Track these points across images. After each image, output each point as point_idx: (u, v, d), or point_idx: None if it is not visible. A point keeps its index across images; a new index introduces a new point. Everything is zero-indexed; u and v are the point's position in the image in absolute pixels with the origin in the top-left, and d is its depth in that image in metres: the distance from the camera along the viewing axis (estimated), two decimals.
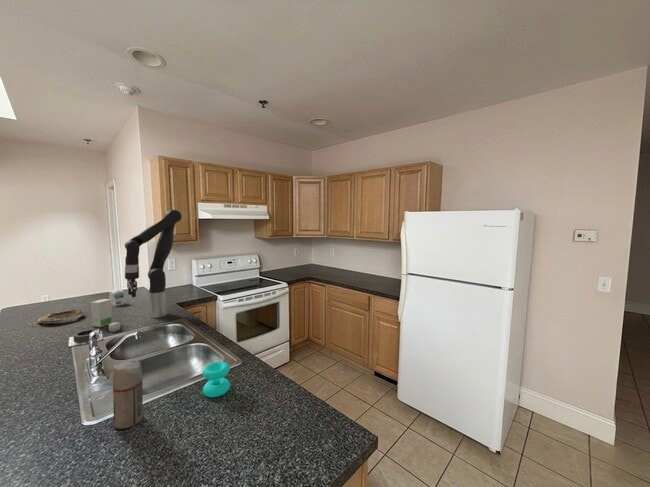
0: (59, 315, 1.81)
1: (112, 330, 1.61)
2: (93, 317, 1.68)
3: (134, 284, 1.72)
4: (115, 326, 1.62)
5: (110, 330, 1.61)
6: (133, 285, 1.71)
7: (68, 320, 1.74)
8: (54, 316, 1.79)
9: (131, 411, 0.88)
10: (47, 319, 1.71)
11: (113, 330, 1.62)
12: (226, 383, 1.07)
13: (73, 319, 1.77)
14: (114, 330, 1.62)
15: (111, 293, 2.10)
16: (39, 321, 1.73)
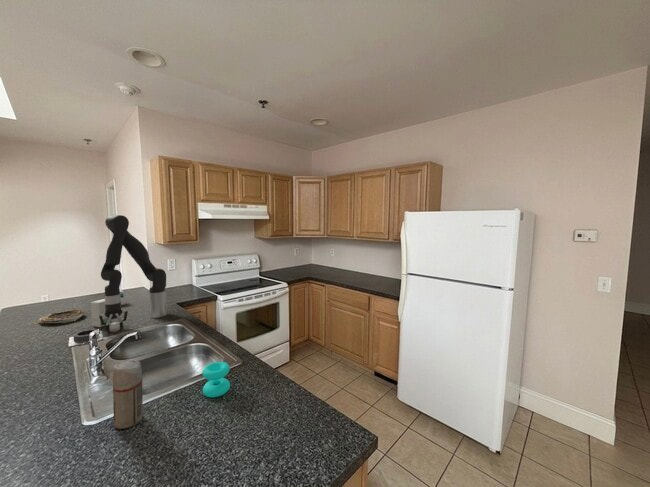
0: (60, 315, 1.81)
1: (112, 330, 1.61)
2: (93, 317, 1.68)
3: None
4: (115, 326, 1.62)
5: (110, 330, 1.61)
6: None
7: (69, 320, 1.75)
8: (55, 316, 1.79)
9: (131, 411, 0.88)
10: (48, 319, 1.71)
11: (113, 330, 1.62)
12: (226, 383, 1.07)
13: (74, 319, 1.77)
14: (114, 330, 1.62)
15: None
16: (40, 321, 1.73)
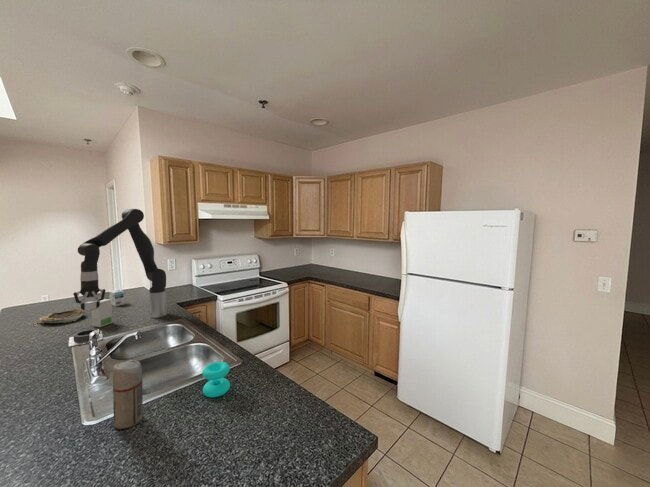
0: (60, 315, 1.81)
1: (87, 309, 1.50)
2: (93, 317, 1.68)
3: (104, 292, 1.57)
4: (91, 305, 1.51)
5: (85, 309, 1.50)
6: (104, 293, 1.56)
7: (69, 320, 1.75)
8: (55, 316, 1.79)
9: (131, 411, 0.88)
10: (48, 319, 1.71)
11: (89, 309, 1.51)
12: (226, 383, 1.07)
13: (74, 319, 1.77)
14: (90, 309, 1.51)
15: (111, 293, 2.10)
16: (40, 321, 1.73)
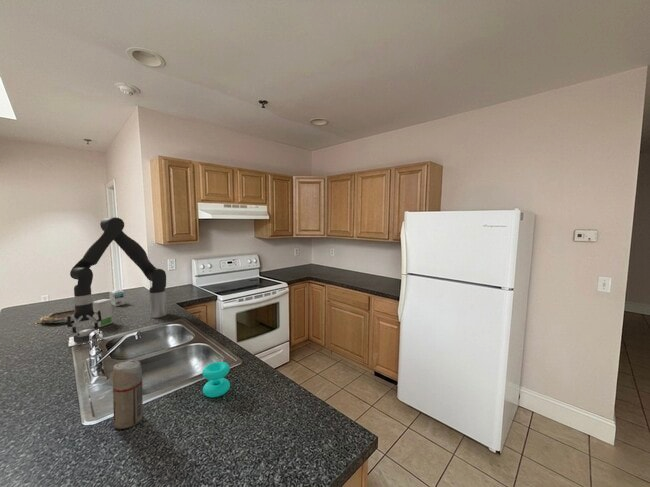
0: (61, 315, 1.81)
1: None
2: None
3: (100, 313, 1.55)
4: (86, 333, 1.50)
5: None
6: (100, 314, 1.55)
7: None
8: (56, 316, 1.79)
9: (131, 411, 0.88)
10: (48, 319, 1.71)
11: None
12: (226, 383, 1.07)
13: (74, 319, 1.77)
14: None
15: (111, 293, 2.10)
16: (41, 320, 1.74)
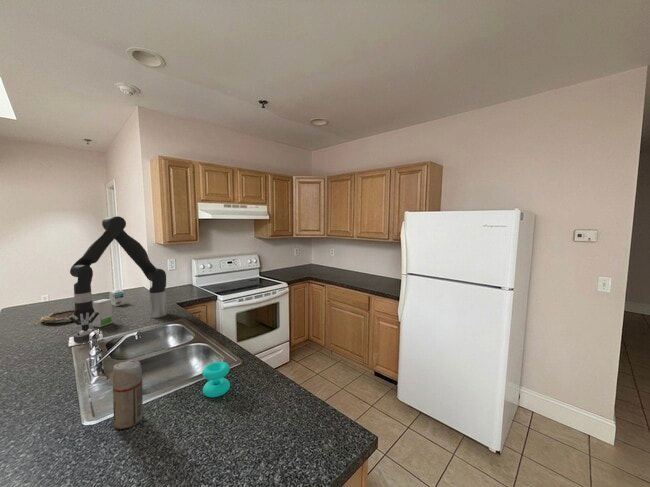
0: (61, 314, 1.82)
1: None
2: None
3: (97, 315, 1.54)
4: (86, 333, 1.50)
5: None
6: (96, 316, 1.53)
7: None
8: (56, 315, 1.80)
9: (131, 411, 0.88)
10: (49, 318, 1.72)
11: None
12: (226, 383, 1.07)
13: (75, 318, 1.78)
14: None
15: (111, 293, 2.10)
16: (41, 320, 1.74)
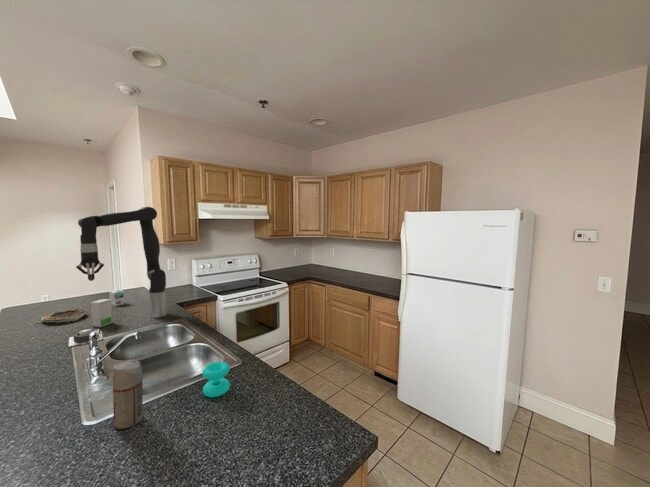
0: (62, 314, 1.82)
1: None
2: (93, 317, 1.68)
3: (102, 266, 1.62)
4: (86, 333, 1.50)
5: None
6: (101, 267, 1.61)
7: (70, 319, 1.76)
8: (57, 315, 1.80)
9: (131, 411, 0.88)
10: (50, 318, 1.72)
11: None
12: (226, 383, 1.07)
13: (75, 318, 1.78)
14: None
15: (111, 293, 2.10)
16: (42, 320, 1.74)
